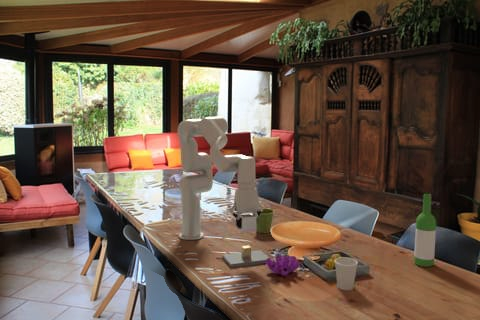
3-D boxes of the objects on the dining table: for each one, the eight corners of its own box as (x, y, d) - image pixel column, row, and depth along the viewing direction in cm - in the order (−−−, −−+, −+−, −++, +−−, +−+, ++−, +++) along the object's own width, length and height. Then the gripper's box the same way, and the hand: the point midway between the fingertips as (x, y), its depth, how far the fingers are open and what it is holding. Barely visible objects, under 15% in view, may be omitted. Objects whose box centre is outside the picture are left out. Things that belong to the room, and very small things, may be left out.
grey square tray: (302, 263, 182) (302, 255, 181) (342, 258, 188) (342, 250, 188) (326, 280, 164) (326, 272, 163) (369, 274, 170) (369, 265, 169)
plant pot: (250, 234, 223) (250, 213, 222) (254, 227, 235) (254, 207, 233) (272, 235, 220) (272, 214, 219) (276, 229, 232) (276, 208, 230)
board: (222, 258, 188) (222, 244, 187) (260, 253, 194) (260, 240, 193) (230, 267, 177) (230, 253, 176) (271, 262, 183) (271, 248, 182)
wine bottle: (434, 263, 182) (438, 193, 178) (432, 269, 175) (436, 197, 172) (415, 259, 186) (418, 191, 182) (412, 265, 179) (416, 195, 175)
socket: (237, 228, 185) (237, 214, 185) (251, 226, 188) (251, 213, 187) (242, 232, 179) (242, 218, 179) (256, 230, 182) (256, 216, 181)
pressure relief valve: (321, 268, 175) (333, 262, 182) (347, 281, 167) (359, 274, 174) (323, 256, 173) (336, 250, 181) (350, 268, 166) (362, 261, 173)
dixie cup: (329, 287, 158) (329, 261, 157) (341, 280, 164) (342, 255, 162) (349, 294, 152) (350, 267, 151) (361, 287, 158) (362, 261, 157)
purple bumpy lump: (267, 285, 168) (256, 262, 171) (292, 274, 178) (282, 253, 181) (284, 275, 160) (273, 251, 164) (309, 264, 171) (298, 242, 174)
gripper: (262, 183, 188) (262, 223, 190) (224, 185, 182) (224, 226, 184) (268, 185, 181) (268, 227, 183) (229, 188, 175) (230, 231, 177)
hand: (246, 226), depth 183 cm, fingers closed on socket, 6 cm apart
